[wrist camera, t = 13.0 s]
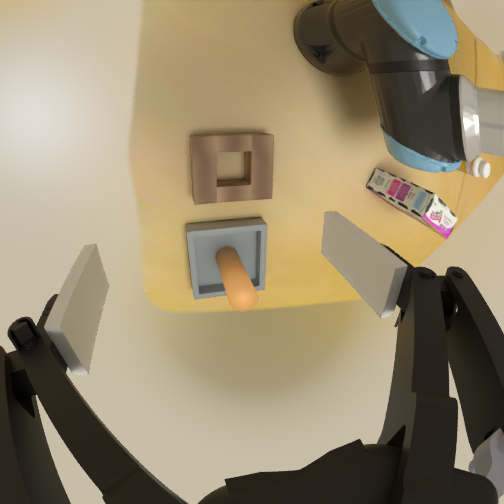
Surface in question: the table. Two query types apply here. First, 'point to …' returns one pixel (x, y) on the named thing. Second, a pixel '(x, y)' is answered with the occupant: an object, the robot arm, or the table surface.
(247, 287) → the pin
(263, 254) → the tray
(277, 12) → the table surface
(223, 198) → the hitch block
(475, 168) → the supplement bottle
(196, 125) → the table surface
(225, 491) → the robot arm
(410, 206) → the candy bar box
